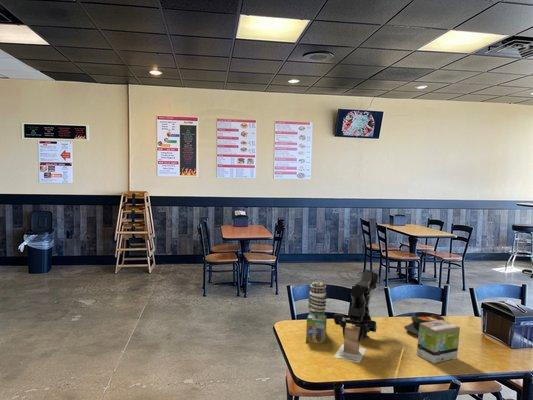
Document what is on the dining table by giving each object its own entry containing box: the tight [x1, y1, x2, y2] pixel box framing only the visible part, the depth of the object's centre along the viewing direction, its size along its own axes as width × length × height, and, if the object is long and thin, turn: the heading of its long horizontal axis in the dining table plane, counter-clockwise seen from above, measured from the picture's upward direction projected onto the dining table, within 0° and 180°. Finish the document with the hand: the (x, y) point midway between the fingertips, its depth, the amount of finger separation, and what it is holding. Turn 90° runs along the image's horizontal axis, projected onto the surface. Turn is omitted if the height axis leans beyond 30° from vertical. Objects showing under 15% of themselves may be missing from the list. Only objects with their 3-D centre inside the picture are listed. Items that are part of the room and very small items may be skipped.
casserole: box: [404, 311, 446, 336], centre depth 208 cm, size 25×19×8 cm
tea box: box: [416, 319, 461, 364], centre depth 179 cm, size 15×10×15 cm, turn 117°
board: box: [333, 343, 367, 364], centre depth 176 cm, size 16×11×1 cm
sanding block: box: [343, 324, 360, 355], centre depth 177 cm, size 4×6×11 cm, turn 66°
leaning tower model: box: [307, 281, 328, 315], centre depth 201 cm, size 9×9×25 cm
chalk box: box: [305, 309, 328, 345], centre depth 190 cm, size 9×9×15 cm
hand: (351, 340), depth 176 cm, fingers closed on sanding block, 6 cm apart
